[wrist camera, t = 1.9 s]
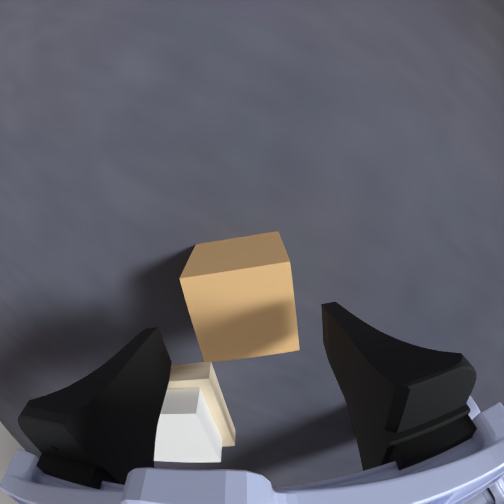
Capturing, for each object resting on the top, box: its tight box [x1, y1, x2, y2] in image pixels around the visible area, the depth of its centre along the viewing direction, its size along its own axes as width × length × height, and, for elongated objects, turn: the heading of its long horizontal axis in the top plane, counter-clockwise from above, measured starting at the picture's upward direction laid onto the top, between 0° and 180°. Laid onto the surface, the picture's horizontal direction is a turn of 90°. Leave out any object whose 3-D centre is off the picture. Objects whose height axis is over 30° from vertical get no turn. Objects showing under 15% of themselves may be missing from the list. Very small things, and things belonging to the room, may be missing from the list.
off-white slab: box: [154, 388, 222, 462], centre depth 19 cm, size 7×7×2 cm
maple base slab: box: [167, 362, 235, 446], centre depth 22 cm, size 9×9×2 cm
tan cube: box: [179, 231, 299, 363], centre depth 16 cm, size 5×5×5 cm
